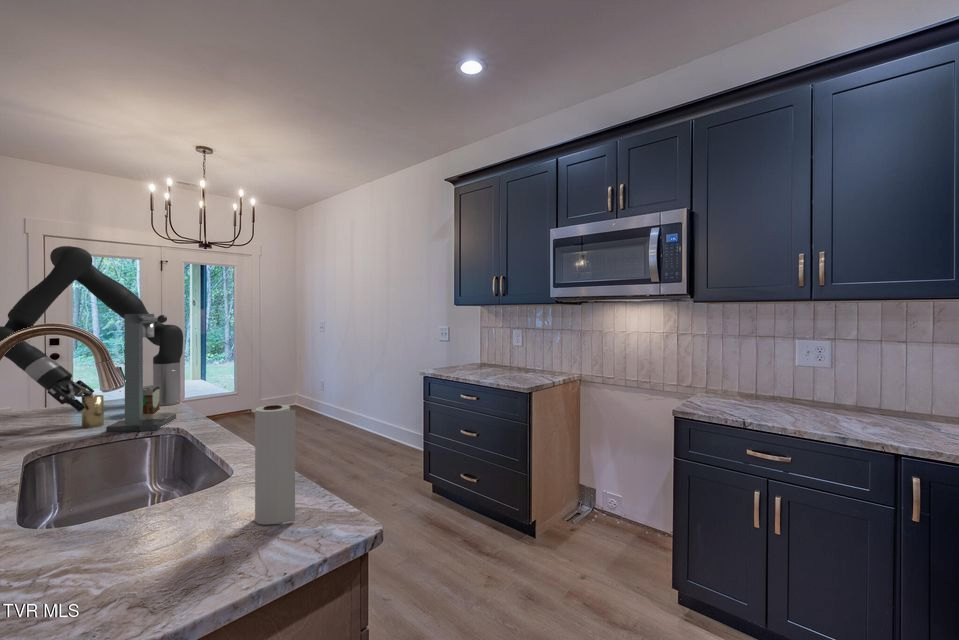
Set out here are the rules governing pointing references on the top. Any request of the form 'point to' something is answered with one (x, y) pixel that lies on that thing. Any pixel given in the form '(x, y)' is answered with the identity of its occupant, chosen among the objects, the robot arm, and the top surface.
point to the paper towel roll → (274, 464)
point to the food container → (151, 399)
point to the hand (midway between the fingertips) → (90, 406)
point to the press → (137, 377)
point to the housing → (93, 411)
